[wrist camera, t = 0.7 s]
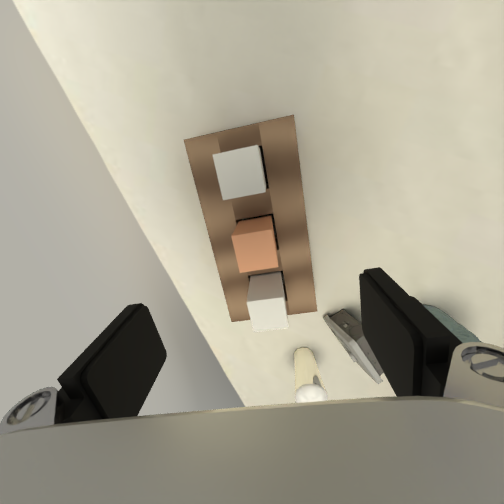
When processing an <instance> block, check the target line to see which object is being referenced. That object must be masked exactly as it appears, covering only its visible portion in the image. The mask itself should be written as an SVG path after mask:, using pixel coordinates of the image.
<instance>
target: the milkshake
mask: <svg viewBox="0 0 504 504" xmlns="http://www.w3.org/2000/svg"><path fill="white" fill-rule="evenodd" d="M294 363H295V400H296V401H295V403H303V402H315V401H327V398H328V396H327V392H326V389H325V387H324V384H323V381H322V379H321V376H320V373H319V370H318V367H317V364H316V361H315V358H314V355H313V352H312V351H311V350H310V349H309V348H304V347H302V348H299V349H297V350H296V351H295V353H294Z"/></svg>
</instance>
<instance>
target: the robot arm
mask: <svg viewBox="0 0 504 504" xmlns="http://www.w3.org/2000/svg"><path fill="white" fill-rule="evenodd" d="M359 280H360V299H361V318H362V330H363V334H364V337H365V339H366V340H367V342H368V344H369V346H370V348H371V350H372V352H373V353H374V355H375V357H376V359H377V361H378V363H379V364H380V366H381V368H382V370H383V372H384V374H385V375H386V377H387V379H388V381H389V383H390V385H391V387H392V388H393V390H394V392H395V394H396V396H397V397H375V398H359V399H344V400H328V401H315V402H303V403H290V404H277V405H264V406H251V407H239V408H227V409H217V410H216V409H215V410H203V411H192V412H180V413H168V414H156V415H145V416H137V415H138V413H139V411H140V409H141V407H142V405H143V404H144V401H145V400H146V397H147V396H148V393H149V392H150V390H151V388H152V386H153V384H154V382H155V380H156V378H157V376H158V374H159V372H160V370H161V368H162V366H163V364H164V362H165V360H166V356H167V355H166V350H165V348H164V345H163V343H162V340H161V338H160V335H159V333H158V331H157V328H156V326H155V323H154V321H153V319H152V316H151V314H150V312H149V309H148V307H147V306H144V305H143V304H142V303H140V304H133V305H128V306H127V307H126V308H125V309H124V310H123V311H122V312H121V313H120V314H119V315H118V316H117V317H116V318H115V319H114V320H113V321H112V322H111V323H110V324H109V325H108V327H107V328H106V329H105V330H104V331H103V332H102V333H101V334H100V335H99V336H98V337H97V338H96V339H95V340H94V341H93V342H92V343H91V344H90V345H89V346H88V348H86V349H85V351H84V352H83V353H82V354H81V355H80V356H79V357H78V358H77V359H76V360H75V361H74V362H73V363H72V364H71V365H70V366H69V367H68V368H67V369H66V370H65V371H64V372H63V374H62V375H61V376H60V377H59V378H58V379H57V380H58V381H59V383H60V385H61V386H62V388H61V389H60V390H59V391H57V389H56V388H54V387H46V388H43V389H40V390H38V391H36V392H33V393H32V394H30V395H28V396H27V397H25V398H24V399H22V400H21V401H19V402H18V403H17V404H16V405H15V406H14V407H12V408H11V409H10V410H9V411H8V413H7V414H6V415H5V416H4V417H3V419H2V421H1V423H0V504H504V348H501V347H498V346H495V345H492V344H487V343H482V342H468V343H462V342H461V341H460V340H459V339H458V338H457V337H456V336H455V335H454V334H453V333H452V332H451V331H450V330H449V329H448V328H447V327H445V326H444V325H443V324H442V323H441V322H440V321H439V320H438V319H437V318H436V317H435V316H434V315H433V314H432V313H431V312H430V311H429V310H427V309H426V308H425V307H424V306H423V305H422V304H421V303H420V302H419V301H418V300H417V299H416V298H414V297H412V296H409V295H408V294H407V293H406V292H405V291H404V290H403V289H402V288H401V287H400V286H399V285H398V284H397V283H396V282H395V281H394V280H393V279H392V278H391V277H390V276H389V275H388V274H386V273H385V272H384V271H383V270H382V269H381V268H380V267H379V268H372V269H365V270H364V273H363V274H360V276H359Z"/></svg>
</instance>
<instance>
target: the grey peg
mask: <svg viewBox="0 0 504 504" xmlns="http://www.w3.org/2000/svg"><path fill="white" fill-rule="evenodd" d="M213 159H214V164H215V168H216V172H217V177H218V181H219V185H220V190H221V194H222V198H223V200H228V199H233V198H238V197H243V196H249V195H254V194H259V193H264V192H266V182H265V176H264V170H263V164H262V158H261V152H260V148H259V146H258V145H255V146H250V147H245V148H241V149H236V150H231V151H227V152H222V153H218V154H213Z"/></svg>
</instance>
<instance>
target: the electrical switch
mask: <svg viewBox="0 0 504 504" xmlns="http://www.w3.org/2000/svg"><path fill="white" fill-rule="evenodd" d="M323 319H324V320H325V322H326V323H327V325H328V326H329V328H330V329H331V330H332V332H333V333H334V335H335V336H336V337H337V339H338V340H339V341H340V343H341V344H342V346H343V347H344V348H345V350H346V351H347V352H348V354H349V355H350V357H351V359H352V360H353V361H354V362H357V363H358V364H359V365H360V366H361V368H362V369H363V370H364V371H365V372H366V373H367V374H368V375H369V376H370V377H371V378H372V379H373V380H374V381H375V382H376V383H378V384H379V383H381V382H382V381H383V380H382V379H381V377H380V375H381V374H382V373H384V372H383V370H382V368H381V366H380V364H379V363H378V361H377V359H376V357H375V355H374V353H373V352H372V350H371V348H370V346H369V344H368V342H367V340H366V339H365V337H364V334H363V330H362V324H361V323H360V322H358V321H357V320H356V319H355V318H353V317H352V316H351V315H349V314H348V313H347V312H346V311H344V310H343V309H342V310H341V311H340V312H338V313H337V314H335V315H333V316H332V317H330V318H329V316H328V315H326V316H325V317H323Z"/></svg>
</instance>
